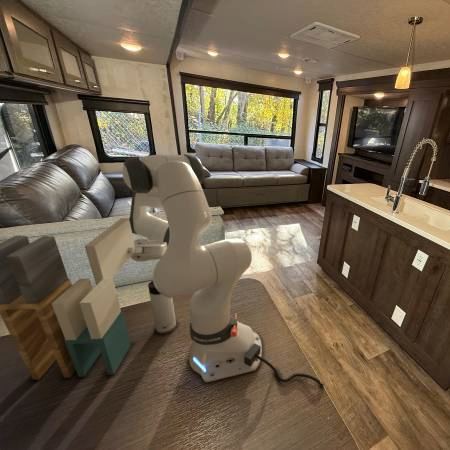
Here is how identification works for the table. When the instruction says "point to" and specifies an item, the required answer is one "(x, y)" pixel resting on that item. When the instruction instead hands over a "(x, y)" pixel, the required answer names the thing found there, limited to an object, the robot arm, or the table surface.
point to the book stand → (34, 302)
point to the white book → (110, 250)
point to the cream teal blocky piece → (92, 324)
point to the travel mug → (162, 310)
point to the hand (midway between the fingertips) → (123, 249)
